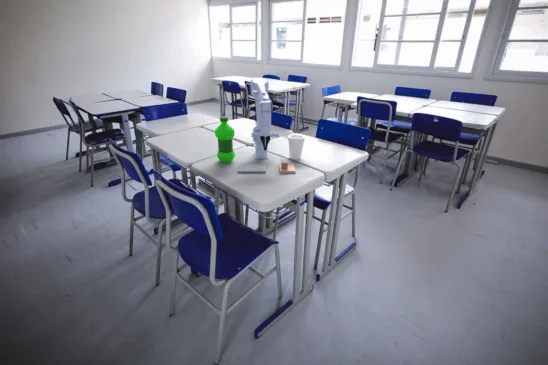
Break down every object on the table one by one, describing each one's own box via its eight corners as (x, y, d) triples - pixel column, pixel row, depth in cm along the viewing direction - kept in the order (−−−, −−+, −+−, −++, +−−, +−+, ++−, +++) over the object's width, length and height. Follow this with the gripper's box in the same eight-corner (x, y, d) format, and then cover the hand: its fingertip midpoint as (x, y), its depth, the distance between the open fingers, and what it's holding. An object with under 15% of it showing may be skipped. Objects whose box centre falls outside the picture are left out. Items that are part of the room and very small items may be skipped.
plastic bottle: (224, 156, 166) (222, 114, 155) (239, 160, 162) (237, 117, 151) (213, 162, 159) (209, 117, 148) (227, 166, 154) (225, 120, 143)
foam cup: (293, 161, 161) (295, 140, 156) (284, 157, 168) (284, 135, 162) (306, 158, 166) (307, 137, 161) (296, 154, 173) (297, 133, 168)
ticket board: (239, 166, 154) (239, 163, 154) (265, 166, 155) (265, 163, 154) (238, 173, 145) (238, 171, 145) (265, 173, 146) (265, 171, 145)
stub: (279, 165, 155) (279, 157, 153) (293, 165, 155) (293, 157, 153) (280, 173, 146) (280, 164, 144) (295, 173, 146) (295, 164, 144)
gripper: (251, 126, 141) (251, 152, 147) (279, 126, 141) (279, 152, 147) (251, 123, 147) (251, 147, 153) (279, 123, 148) (278, 148, 154)
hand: (265, 149), depth 151 cm, fingers closed
